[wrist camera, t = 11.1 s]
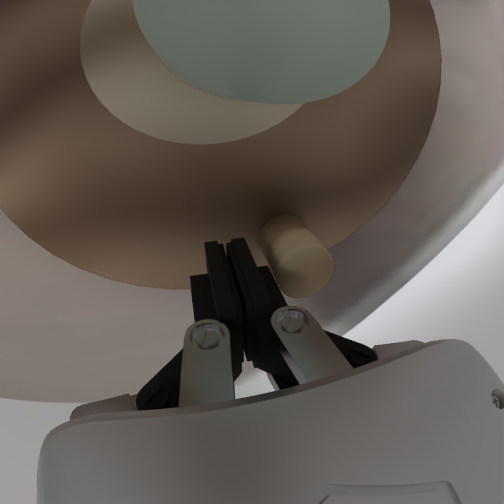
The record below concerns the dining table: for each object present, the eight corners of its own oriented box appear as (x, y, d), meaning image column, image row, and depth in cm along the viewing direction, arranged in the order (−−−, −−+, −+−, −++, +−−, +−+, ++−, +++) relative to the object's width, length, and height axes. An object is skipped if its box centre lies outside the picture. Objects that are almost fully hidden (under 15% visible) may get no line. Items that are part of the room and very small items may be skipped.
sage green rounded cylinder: (133, -26, 5) (114, -72, 2) (305, -50, 6) (353, -86, 2) (176, 122, 9) (172, 138, 6) (343, 84, 10) (406, 91, 6)
